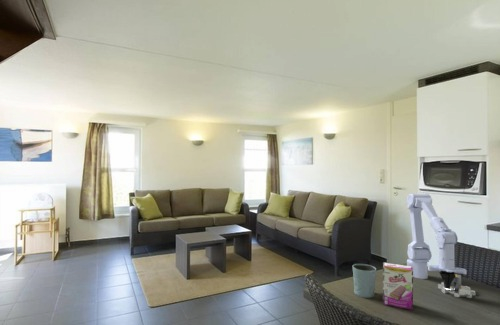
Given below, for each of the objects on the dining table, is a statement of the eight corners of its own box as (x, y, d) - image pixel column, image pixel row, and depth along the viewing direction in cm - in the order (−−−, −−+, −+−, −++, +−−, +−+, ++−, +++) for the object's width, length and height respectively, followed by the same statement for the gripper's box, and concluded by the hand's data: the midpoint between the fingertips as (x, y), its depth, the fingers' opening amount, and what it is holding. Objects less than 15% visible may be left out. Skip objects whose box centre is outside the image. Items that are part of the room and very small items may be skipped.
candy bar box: (382, 305, 118) (382, 265, 119) (382, 300, 123) (382, 262, 123) (413, 310, 114) (413, 269, 114) (412, 305, 118) (412, 265, 119)
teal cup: (348, 293, 129) (348, 267, 129) (357, 287, 137) (357, 261, 137) (371, 300, 122) (371, 272, 123) (379, 293, 130) (379, 266, 130)
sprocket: (438, 293, 128) (437, 280, 128) (438, 282, 140) (437, 271, 140) (476, 300, 121) (476, 287, 121) (473, 289, 132) (473, 277, 132)
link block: (450, 285, 132) (450, 275, 132) (450, 282, 135) (450, 273, 136) (461, 287, 130) (461, 277, 130) (460, 284, 133) (460, 274, 133)
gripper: (431, 259, 126) (431, 289, 126) (469, 262, 122) (470, 294, 122) (426, 254, 133) (426, 283, 133) (462, 257, 129) (462, 287, 129)
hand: (447, 288), depth 128 cm, fingers closed
